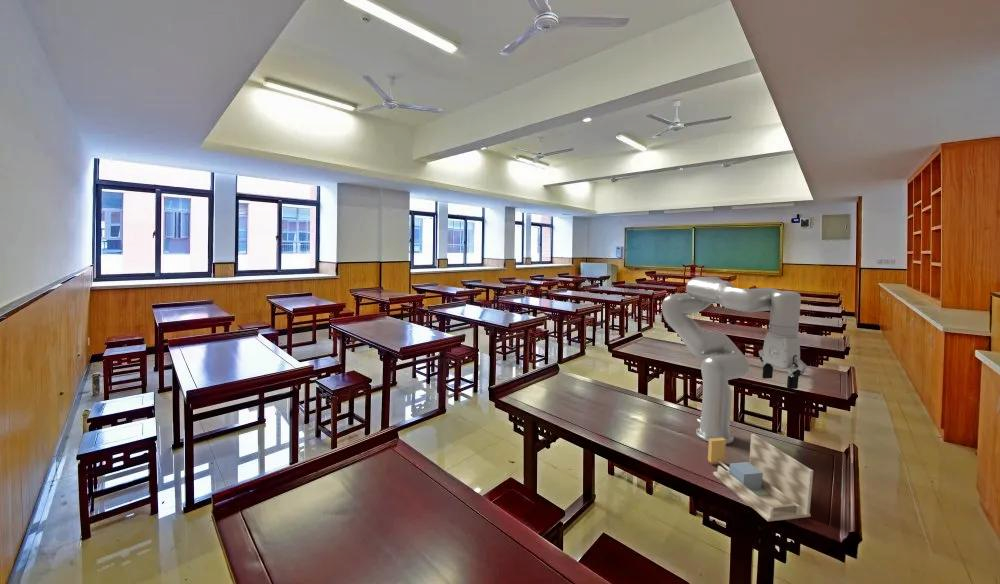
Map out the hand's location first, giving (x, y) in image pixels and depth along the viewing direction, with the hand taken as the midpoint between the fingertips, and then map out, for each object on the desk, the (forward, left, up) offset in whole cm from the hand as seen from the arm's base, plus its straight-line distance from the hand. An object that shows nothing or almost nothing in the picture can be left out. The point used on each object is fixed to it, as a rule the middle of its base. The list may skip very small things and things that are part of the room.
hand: (779, 383), depth 129 cm
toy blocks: (+3, -17, -27) cm, 32 cm away
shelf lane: (+12, -16, -28) cm, 35 cm away
